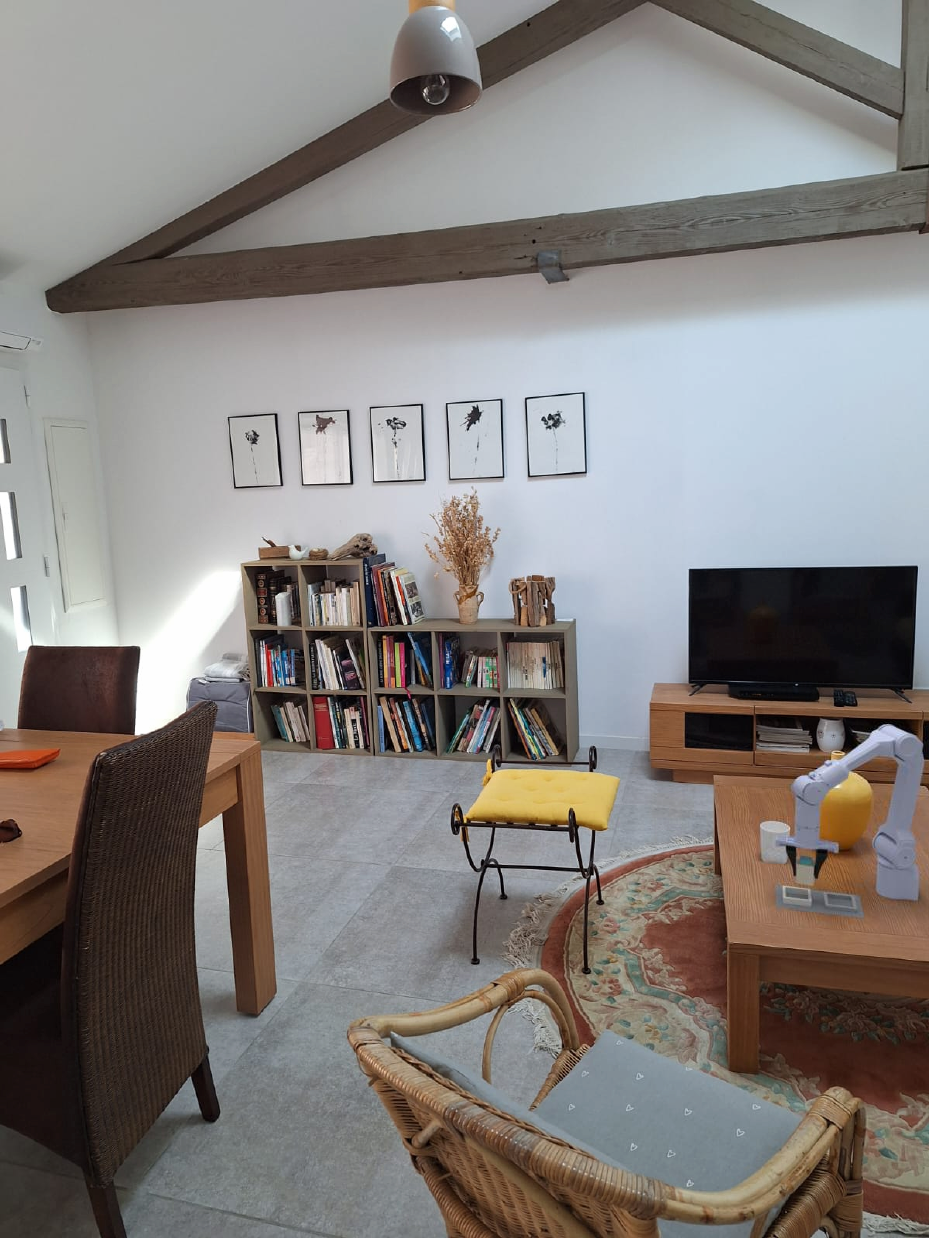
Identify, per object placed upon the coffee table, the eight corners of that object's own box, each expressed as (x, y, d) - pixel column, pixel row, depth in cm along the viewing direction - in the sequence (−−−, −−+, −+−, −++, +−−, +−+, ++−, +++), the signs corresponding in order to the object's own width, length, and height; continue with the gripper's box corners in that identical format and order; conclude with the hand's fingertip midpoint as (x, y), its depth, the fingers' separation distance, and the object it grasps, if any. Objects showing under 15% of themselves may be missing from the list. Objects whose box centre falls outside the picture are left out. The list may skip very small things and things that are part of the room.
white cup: (787, 855, 240) (788, 822, 239) (790, 867, 233) (791, 833, 231) (758, 853, 242) (759, 820, 241) (760, 864, 235) (761, 830, 233)
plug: (814, 879, 213) (815, 856, 212) (813, 885, 209) (814, 863, 208) (797, 876, 215) (798, 853, 214) (795, 882, 211) (796, 860, 210)
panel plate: (858, 899, 214) (859, 895, 214) (864, 922, 203) (864, 918, 203) (775, 889, 221) (775, 885, 221) (775, 911, 210) (776, 907, 209)
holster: (854, 899, 212) (854, 895, 212) (857, 912, 206) (857, 908, 205) (823, 895, 215) (823, 891, 214) (825, 908, 208) (825, 905, 208)
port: (810, 894, 215) (810, 888, 215) (811, 906, 209) (811, 900, 209) (782, 891, 217) (782, 885, 217) (783, 903, 211) (783, 897, 211)
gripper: (837, 821, 211) (835, 872, 213) (775, 815, 216) (774, 865, 218) (840, 832, 204) (837, 884, 206) (776, 826, 209) (774, 877, 211)
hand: (805, 875), depth 212 cm, fingers closed on plug, 4 cm apart
